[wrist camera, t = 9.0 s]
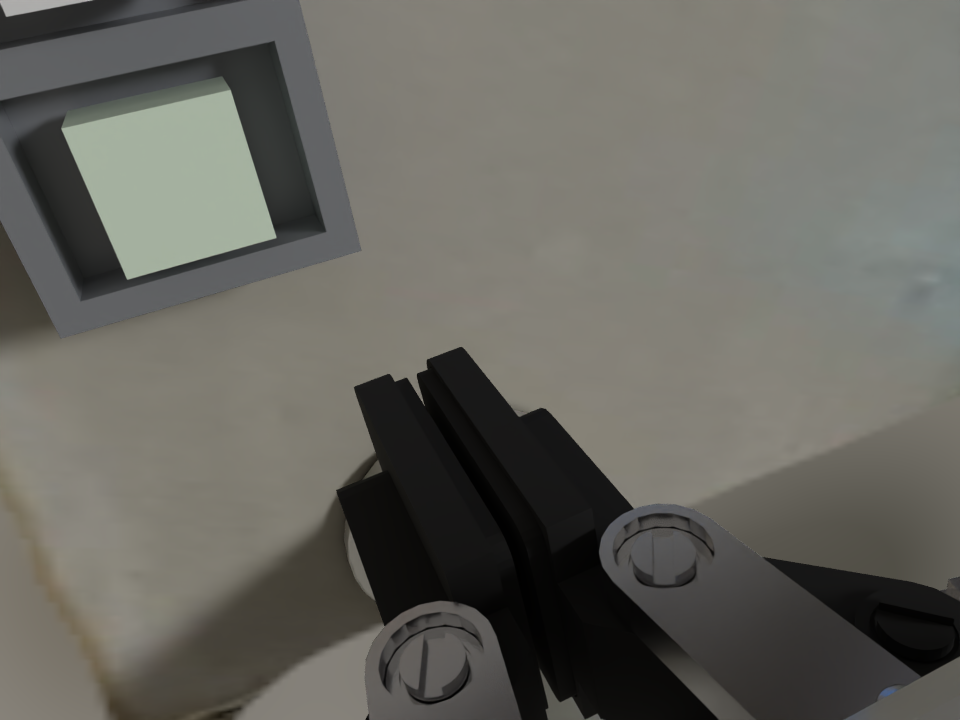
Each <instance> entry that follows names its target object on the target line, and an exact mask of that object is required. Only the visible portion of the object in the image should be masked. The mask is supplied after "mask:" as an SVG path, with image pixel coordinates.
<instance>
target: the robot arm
mask: <svg viewBox="0 0 960 720" xmlns="http://www.w3.org/2000/svg"><path fill="white" fill-rule="evenodd" d="M427 368H428V370H426V371H423V372H420V373H418V374H417V379H418V383H419V387H420V390H421V394H422V397H423V401H424V404H425V406H424V404H423V403H422V401H421V400H420V398H419V396H418V395H417V393H416V391H415V390H414V388H413V387H412V385H411V383H410V382H409V380H408V379H407V378H404V379H402V380H399V381H396V382H394V380H393V378H392V376H391V375H390V374H387V375H384V376H382V377H379V378H376V379H374V380H371V381H368V382H366V383H363V384H360V385H358V386H355V387H354V389H355V393H356V396H357V399H358V402H359V405H360V408H361V411H362V414H363V417H364V420H365V422H366V425H367V428H368V431H369V434H370V437H371V440H372V443H373V446H374V449H375V452H376V455H377V458H378V460H377V461H376V462H375V464H374V465H373V466H372V468H371V469H370V470H369V472H368V473H367V474H366V475H365V477H364V478H363V479H362V480H361V481H358V482H356V483H353V484H351V485H348V486H346V487H343V488H341V489H338V490H336V491H337V494H338V497H339V500H340V503H341V506H342V509H343V511H344V514H345V517H346V520H345V534H344V543H345V548H346V553H347V558H348V561H349V564H350V567H351V569H352V572H353V574H354V577H355V579H356V581H357V582H358V584H359V585H360V587H361V588H362V590H363V591H364V592H365V593H366V594H367V595H368V596H369V597H370V598H372V599H373V600H374V601H375V602H376V604H377V606H378V609H379V612H380V615H381V618H382V620H383V623H384V626H385V627H384V628H383V629H382V631H381V632H380V633H379V635H378V636H377V637H376V638H375V640H374V641H373V643H372V646H371V648H370V651H369V653H368V655H367V658H366V666H365V685H366V694H367V702H368V711H369V714H368V716H367V718H366V720H960V576H959V577H955V578H951V579H948V584H947V589H945V590H940V591H939V590H937V589H935V588H932V587H928V586H924V585H921V584H917V583H913V582H909V581H903V580H896V579H890V578H885V577H879V576H873V575H867V574H860V573H855V572H848V571H843V570H837V569H831V568H825V567H819V566H812V565H807V564H801V563H795V562H789V561H783V560H776V559H771V558H765V557H761V556H760V555H758V554H757V553H756V552H754V551H753V550H752V549H750V548H749V547H748V546H746V545H745V544H744V543H742V542H741V541H740V540H738V539H737V538H736V537H734V536H733V535H732V534H730V533H729V532H728V531H726V530H725V529H724V528H722V527H721V526H720V525H718V524H717V523H716V522H714V521H713V520H712V519H710V518H709V517H707V516H705V515H703V514H701V513H700V512H698V511H696V510H694V509H691V508H687V507H683V506H679V505H674V504H653V505H648V506H642V507H638V508H635V509H634V508H633V507H632V506H631V505H630V504H629V502H628V501H627V500H626V499H625V498H624V497H623V496H622V494H621V493H620V492H619V491H618V490H617V489H616V488H615V486H614V485H613V484H612V483H611V482H610V481H609V480H608V478H607V477H606V476H605V475H604V474H603V473H602V472H601V471H600V469H599V468H598V467H597V466H596V465H595V464H594V463H593V461H592V460H591V459H590V458H589V457H588V456H587V455H586V453H585V452H584V451H583V450H582V449H581V448H580V447H579V445H578V444H577V443H576V442H575V441H574V440H573V439H572V437H571V436H570V435H569V434H568V433H567V432H566V431H565V429H564V428H563V427H562V426H561V425H560V424H559V423H558V421H557V420H556V419H555V418H554V417H553V416H552V415H551V414H550V413H549V412H548V411H547V410H546V409H543V408H540V409H537V410H535V411H532V412H530V413H526V412H521V411H517V410H513V409H512V408H511V406H510V405H509V404H508V403H507V401H506V400H505V399H504V398H503V396H502V395H501V394H500V393H499V392H498V390H497V389H496V388H495V387H494V385H493V384H492V383H491V382H490V380H489V379H488V378H487V377H486V375H485V374H484V373H483V372H482V370H481V369H480V368H479V367H478V365H477V364H476V363H475V362H474V360H473V359H472V358H471V357H470V355H469V354H468V353H467V352H466V350H465V349H464V348H463V347H459V348H457V349H454V350H451V351H449V352H446V353H443V354H441V355H438V356H435V357H433V358H430V359H427Z"/></svg>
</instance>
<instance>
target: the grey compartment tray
mask: <svg viewBox="0 0 960 720" xmlns="http://www.w3.org/2000/svg"><path fill="white" fill-rule="evenodd" d="M220 76H222V77H223V78H224V80H225V82H226V83H227V85H228V86H229V88H230V90H231V93H232V96H233V99H234V102H235V106H236V109H237V112H238V115H239V118H240V122H241V125H242V128H243V131H244V135H245V138H246V141H247V144H248V147H249V151H250V154H251V157H252V160H253V164H254V167H255V170H256V173H257V176H258V180H259V183H260V186H261V189H262V192H263V196H264V199H265V202H266V205H267V209H268V212H269V215H270V218H271V221H272V225H273V228H274V231H275V234H276V238H275V239H271V240H267V241H264V242H260V243H257V244H253V245H250V246H246V247H242V248H239V249H235V250H232V251H228V252H225V253H221V254H217V255H214V256H210V257H207V258H203V259H200V260H196V261H192V262H189V263H185V264H182V265H178V266H175V267H171V268H167V269H164V270H160V271H157V272H153V273H149V274H146V275H142V276H139V277H135V278H132V279H128V280H127V278H126V276H125V273H124V271H123V269H122V266H121V264H120V262H119V260H118V257H117V255H116V253H115V250H114V248H113V246H112V244H111V241H110V239H109V237H108V234H107V232H106V230H105V228H104V225H103V223H102V221H101V218H100V216H99V214H98V212H97V209H96V207H95V205H94V202H93V200H92V198H91V196H90V193H89V191H88V189H87V186H86V184H85V182H84V180H83V177H82V175H81V173H80V170H79V168H78V166H77V164H76V161H75V159H74V157H73V154H72V152H71V150H70V148H69V145H68V143H67V141H66V138H65V136H64V134H63V132H62V129H61V128H62V125H63V122H64V119H65V116H66V113H67V111H69V110H73V109H78V108H82V107H87V106H91V105H96V104H100V103H105V102H109V101H113V100H118V99H122V98H127V97H131V96H136V95H140V94H145V93H149V92H154V91H158V90H162V89H167V88H171V87H176V86H180V85H185V84H189V83H194V82H198V81H203V80H207V79H212V78H216V77H220ZM0 221H1V223H2V225H3V227H4V229H5V231H6V233H7V235H8V236H9V238H10V240H11V242H12V244H13V246H14V248H15V250H16V252H17V254H18V256H19V258H20V260H21V262H22V264H23V266H24V268H25V270H26V272H27V274H28V275H29V277H30V279H31V281H32V283H33V285H34V287H35V289H36V291H37V293H38V295H39V297H40V299H41V301H42V303H43V305H44V307H45V309H46V311H47V312H48V314H49V316H50V318H51V320H52V322H53V324H54V326H55V328H56V330H57V332H58V334H59V336H60V338H64V337H68V336H71V335H75V334H78V333H81V332H85V331H88V330H92V329H95V328H99V327H102V326H105V325H109V324H112V323H116V322H119V321H123V320H126V319H129V318H133V317H136V316H140V315H143V314H146V313H150V312H153V311H157V310H160V309H164V308H167V307H170V306H174V305H177V304H181V303H184V302H188V301H191V300H194V299H198V298H201V297H205V296H208V295H212V294H215V293H218V292H222V291H225V290H229V289H232V288H236V287H239V286H242V285H246V284H249V283H253V282H256V281H260V280H263V279H266V278H270V277H273V276H277V275H280V274H284V273H287V272H290V271H294V270H297V269H301V268H304V267H307V266H311V265H314V264H318V263H321V262H325V261H328V260H331V259H335V258H338V257H342V256H345V255H349V254H352V253H355V252H359V251H361V247H360V243H359V239H358V235H357V231H356V227H355V223H354V219H353V215H352V211H351V207H350V203H349V199H348V195H347V191H346V187H345V183H344V179H343V175H342V171H341V167H340V163H339V159H338V155H337V151H336V147H335V143H334V138H333V134H332V130H331V126H330V122H329V118H328V114H327V110H326V106H325V102H324V98H323V94H322V90H321V86H320V82H319V78H318V74H317V70H316V66H315V62H314V58H313V54H312V50H311V46H310V42H309V38H308V34H307V30H306V26H305V22H304V18H303V14H302V10H301V6H300V2H299V0H91V1H86V2H81V3H75V4H70V5H65V6H60V7H55V8H50V9H44V10H39V11H34V12H29V13H24V14H18V15H13V16H8V17H6V15H5V13H4V11H3V8H2V6H1V4H0Z"/></svg>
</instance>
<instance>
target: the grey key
mask: <svg viewBox="0 0 960 720" xmlns="http://www.w3.org/2000/svg"><path fill="white" fill-rule="evenodd" d="M86 1H91V0H0V4H1V6H2V8H3V11H4V13H5V15H6V17H8V16H13V15H18V14H24V13H29V12H34V11H39V10H44V9H50V8H55V7H60V6H65V5H70V4H75V3H81V2H86Z"/></svg>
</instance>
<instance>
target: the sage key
mask: <svg viewBox="0 0 960 720" xmlns="http://www.w3.org/2000/svg"><path fill="white" fill-rule="evenodd" d="M61 129H62V132H63V134H64V136H65V138H66V141H67V143H68V145H69V148H70V150H71V152H72V154H73V157H74V159H75V161H76V164H77V166H78V168H79V170H80V173H81V175H82V177H83V180H84V182H85V184H86V186H87V189H88V191H89V193H90V196H91V198H92V200H93V202H94V205H95V207H96V209H97V212H98V214H99V216H100V218H101V221H102V223H103V225H104V228H105V230H106V232H107V234H108V237H109V239H110V241H111V244H112V246H113V248H114V250H115V253H116V255H117V257H118V260H119V262H120V264H121V266H122V269H123V271H124V273H125V276H126V278H127V280H128V279H132V278H135V277H139V276H142V275H146V274H149V273H153V272H157V271H160V270H164V269H167V268H171V267H175V266H178V265H182V264H185V263H189V262H192V261H196V260H200V259H203V258H207V257H210V256H214V255H217V254H221V253H225V252H228V251H232V250H235V249H239V248H242V247H246V246H250V245H253V244H257V243H260V242H264V241H267V240H271V239H275V238H276V234H275V231H274V228H273V225H272V221H271V218H270V215H269V212H268V209H267V205H266V202H265V199H264V196H263V192H262V189H261V186H260V183H259V180H258V176H257V173H256V170H255V167H254V164H253V160H252V157H251V154H250V151H249V147H248V144H247V141H246V138H245V135H244V131H243V128H242V125H241V122H240V118H239V115H238V112H237V109H236V106H235V102H234V99H233V96H232V93H231V90H230V88H229V86H228V85H227V83H226V82H225V80H224V78H223V77H222V76H220V77H216V78H212V79H207V80H203V81H198V82H194V83H189V84H185V85H180V86H176V87H171V88H167V89H162V90H158V91H154V92H149V93H145V94H140V95H136V96H131V97H127V98H122V99H118V100H113V101H109V102H105V103H100V104H96V105H91V106H87V107H82V108H78V109H73V110H69V111H67V113H66V116H65V119H64V122H63V125H62V128H61Z"/></svg>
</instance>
